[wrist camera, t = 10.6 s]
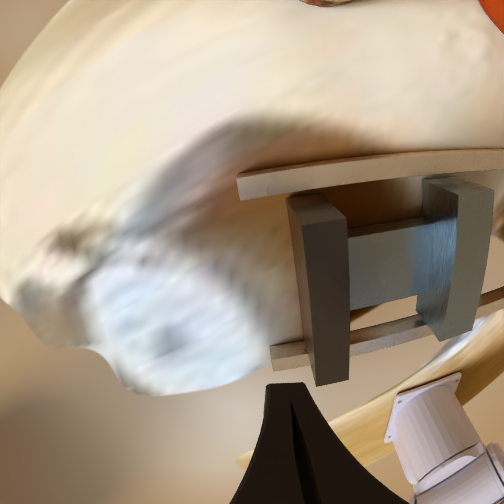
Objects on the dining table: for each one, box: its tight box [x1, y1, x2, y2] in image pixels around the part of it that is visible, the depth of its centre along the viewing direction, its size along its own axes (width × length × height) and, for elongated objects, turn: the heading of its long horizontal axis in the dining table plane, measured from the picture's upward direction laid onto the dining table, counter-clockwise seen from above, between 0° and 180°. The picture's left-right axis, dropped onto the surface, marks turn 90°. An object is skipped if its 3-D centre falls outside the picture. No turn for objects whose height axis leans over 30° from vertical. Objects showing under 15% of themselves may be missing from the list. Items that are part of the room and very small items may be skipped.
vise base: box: [236, 149, 504, 371], centre depth 17 cm, size 14×30×4 cm, turn 100°
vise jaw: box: [286, 176, 494, 387], centre depth 17 cm, size 10×12×5 cm
